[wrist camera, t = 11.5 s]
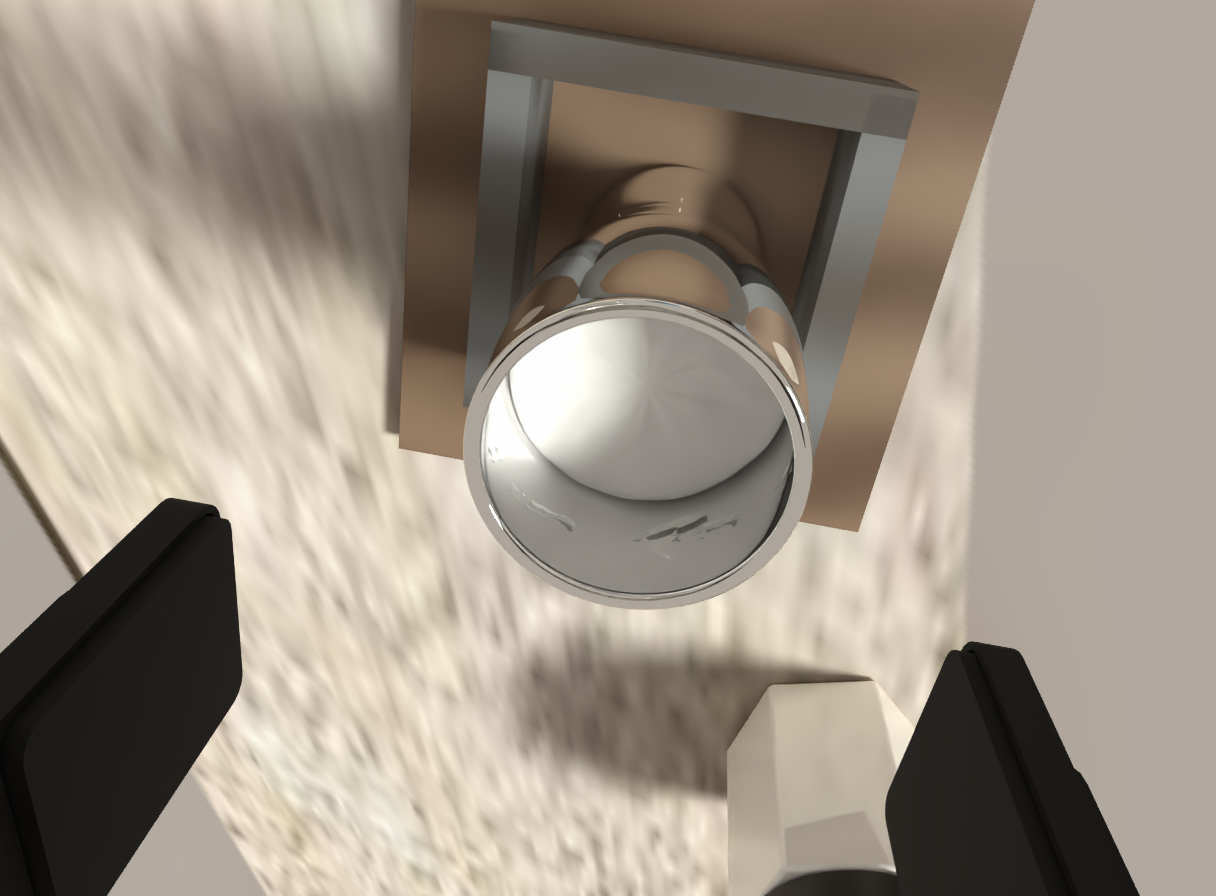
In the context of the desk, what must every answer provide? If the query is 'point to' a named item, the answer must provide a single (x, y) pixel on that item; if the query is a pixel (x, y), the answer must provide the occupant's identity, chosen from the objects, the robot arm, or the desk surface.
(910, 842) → the robot arm
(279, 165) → the desk surface
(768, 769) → the jar
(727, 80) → the u rest
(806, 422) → the beer glass
